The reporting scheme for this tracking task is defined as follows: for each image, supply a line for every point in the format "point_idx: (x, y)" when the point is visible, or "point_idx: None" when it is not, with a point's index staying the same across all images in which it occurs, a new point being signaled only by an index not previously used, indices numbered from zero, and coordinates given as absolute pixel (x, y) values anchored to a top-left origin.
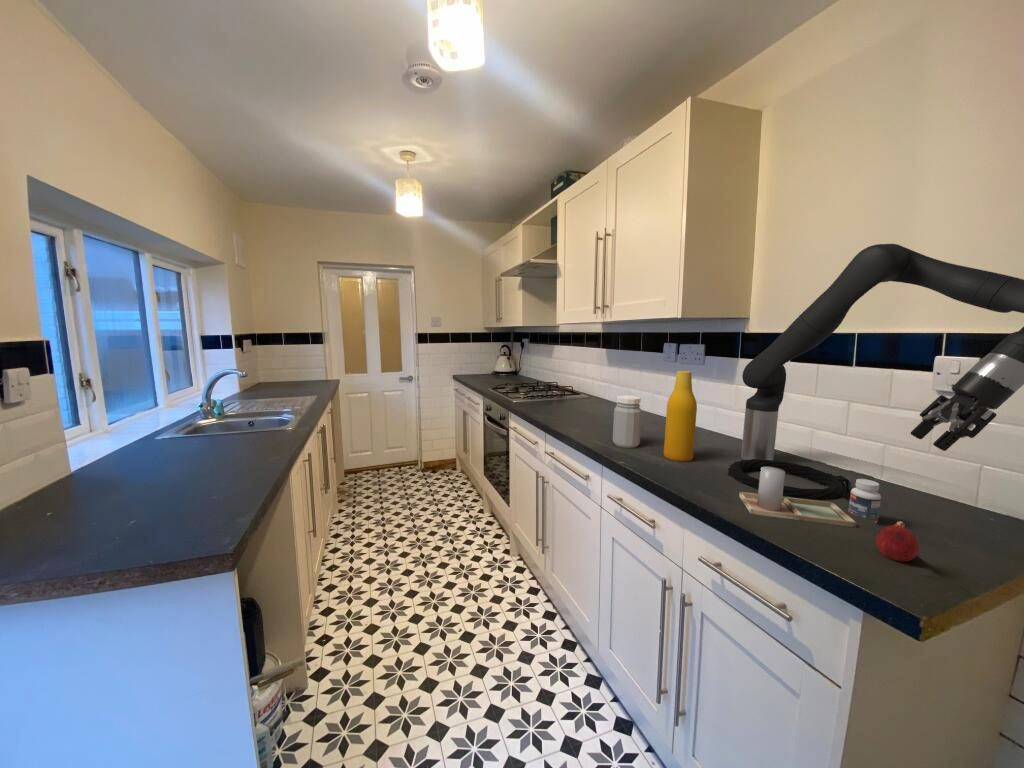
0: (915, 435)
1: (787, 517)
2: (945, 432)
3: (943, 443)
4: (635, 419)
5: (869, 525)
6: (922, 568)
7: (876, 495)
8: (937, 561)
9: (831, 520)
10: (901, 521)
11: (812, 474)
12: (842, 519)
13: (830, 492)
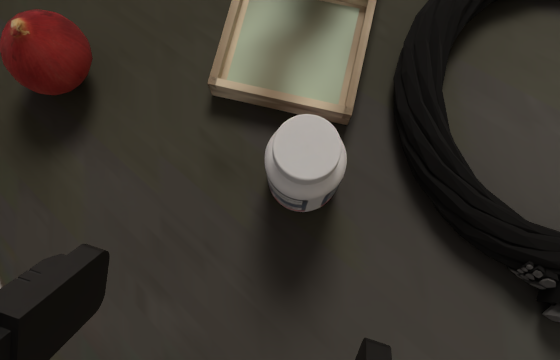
0: (357, 358)
1: None
2: (26, 303)
3: (39, 263)
4: None
5: (259, 167)
6: (49, 119)
7: (269, 163)
8: (76, 182)
9: (223, 30)
10: (15, 26)
11: None
12: (254, 84)
13: (421, 148)
